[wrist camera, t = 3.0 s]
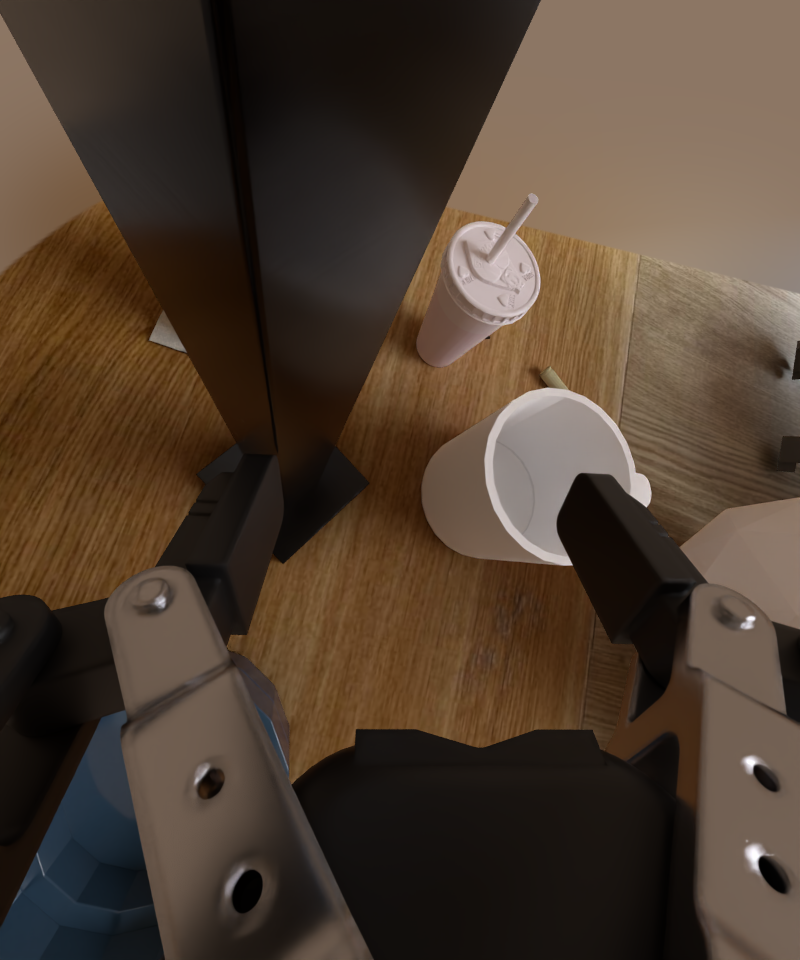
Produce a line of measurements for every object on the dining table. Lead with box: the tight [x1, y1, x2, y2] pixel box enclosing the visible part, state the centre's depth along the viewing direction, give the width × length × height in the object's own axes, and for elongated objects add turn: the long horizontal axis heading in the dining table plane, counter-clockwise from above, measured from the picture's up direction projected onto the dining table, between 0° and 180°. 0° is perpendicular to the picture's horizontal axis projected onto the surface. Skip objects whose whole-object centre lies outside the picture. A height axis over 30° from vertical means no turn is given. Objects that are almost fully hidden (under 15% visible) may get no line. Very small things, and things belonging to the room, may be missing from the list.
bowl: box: [0, 651, 289, 960], centre depth 20 cm, size 13×13×6 cm
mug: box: [421, 388, 652, 566], centre depth 26 cm, size 13×10×10 cm
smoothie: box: [416, 194, 540, 367], centre depth 25 cm, size 6×6×14 cm
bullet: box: [539, 366, 568, 390], centre depth 34 cm, size 1×1×8 cm
